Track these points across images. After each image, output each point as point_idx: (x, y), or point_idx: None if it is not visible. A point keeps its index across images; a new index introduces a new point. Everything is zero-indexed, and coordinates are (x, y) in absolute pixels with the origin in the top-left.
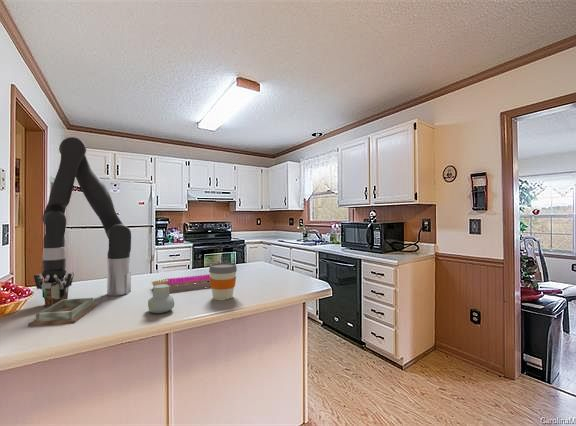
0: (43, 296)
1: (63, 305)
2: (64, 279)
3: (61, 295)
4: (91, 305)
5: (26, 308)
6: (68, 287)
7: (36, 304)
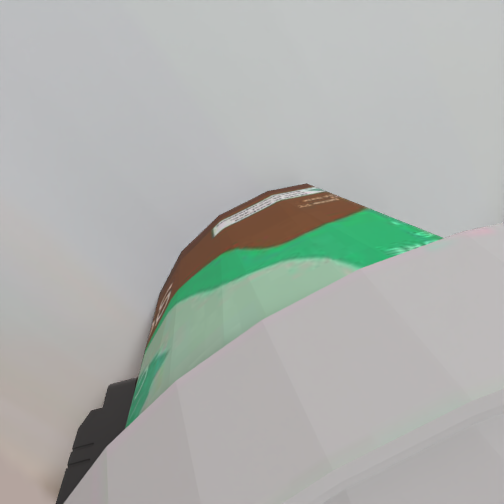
0: None
1: None
2: (473, 455)
3: None
4: None
5: (49, 477)
6: (406, 226)
7: (11, 361)
